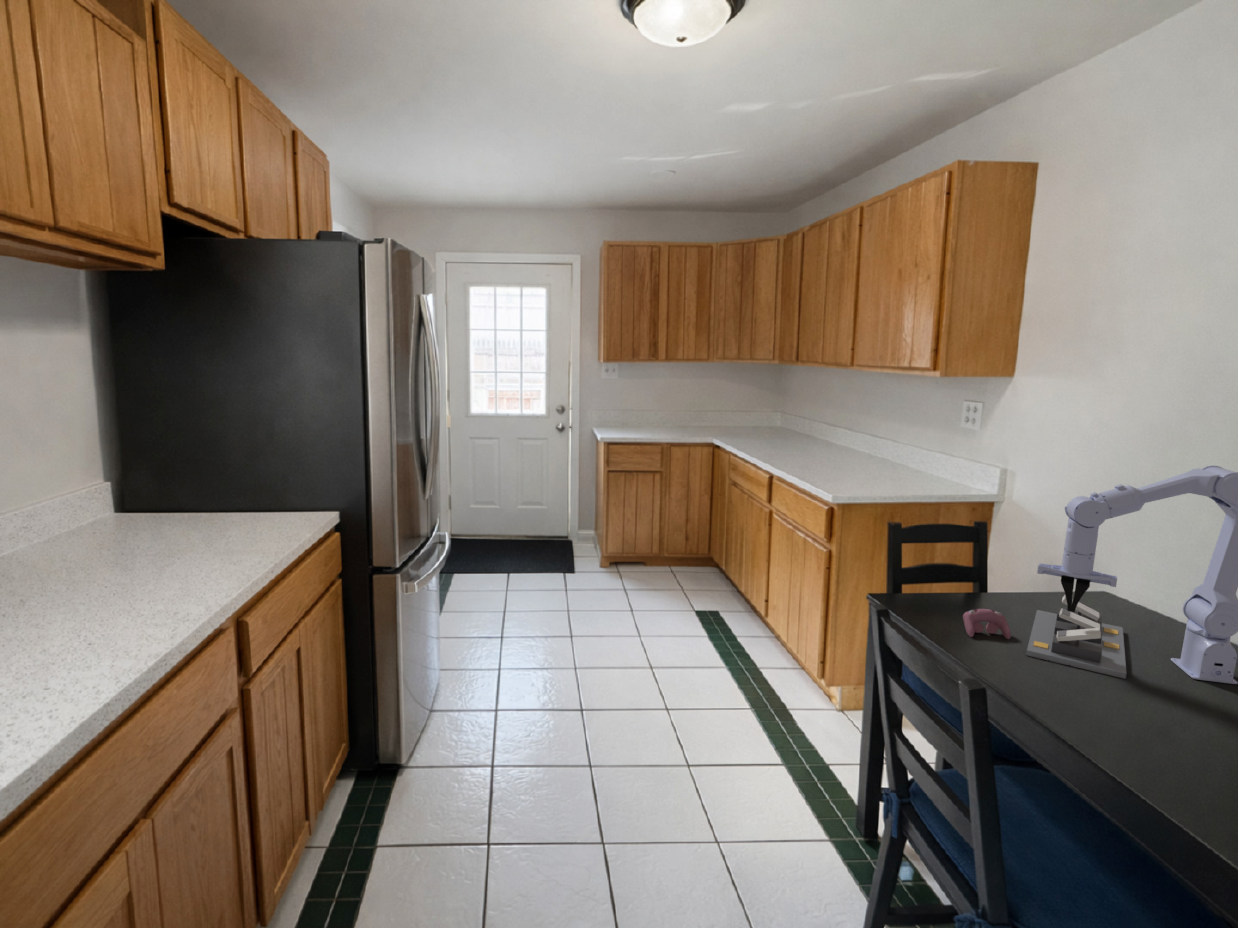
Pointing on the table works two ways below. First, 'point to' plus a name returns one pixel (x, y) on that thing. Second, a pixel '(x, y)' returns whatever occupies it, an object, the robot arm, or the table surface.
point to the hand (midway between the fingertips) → (1071, 610)
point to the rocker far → (1084, 609)
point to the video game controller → (986, 615)
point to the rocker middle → (1078, 619)
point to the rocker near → (1078, 634)
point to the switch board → (1107, 653)
